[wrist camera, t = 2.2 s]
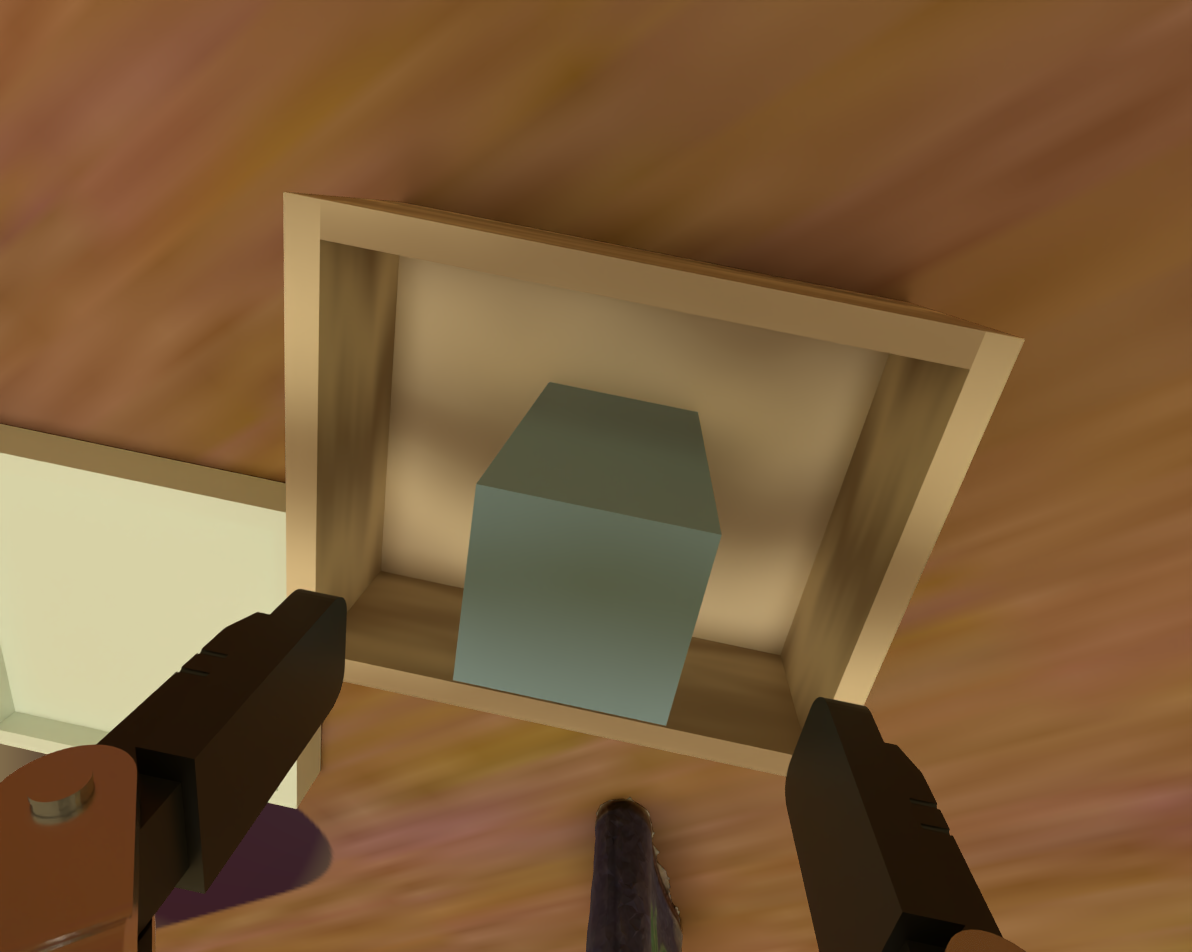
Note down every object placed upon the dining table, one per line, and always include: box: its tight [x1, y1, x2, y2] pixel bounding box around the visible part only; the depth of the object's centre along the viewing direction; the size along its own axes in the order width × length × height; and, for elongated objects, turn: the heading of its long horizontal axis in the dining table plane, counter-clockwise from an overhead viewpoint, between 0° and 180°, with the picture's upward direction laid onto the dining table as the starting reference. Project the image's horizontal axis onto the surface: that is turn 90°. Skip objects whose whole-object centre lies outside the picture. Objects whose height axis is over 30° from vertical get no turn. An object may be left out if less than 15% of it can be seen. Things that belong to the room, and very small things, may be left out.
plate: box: [0, 424, 321, 809], centre depth 25 cm, size 14×14×2 cm
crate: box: [283, 192, 1025, 777], centre depth 18 cm, size 13×16×6 cm
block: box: [453, 382, 722, 726], centre depth 16 cm, size 4×4×8 cm
